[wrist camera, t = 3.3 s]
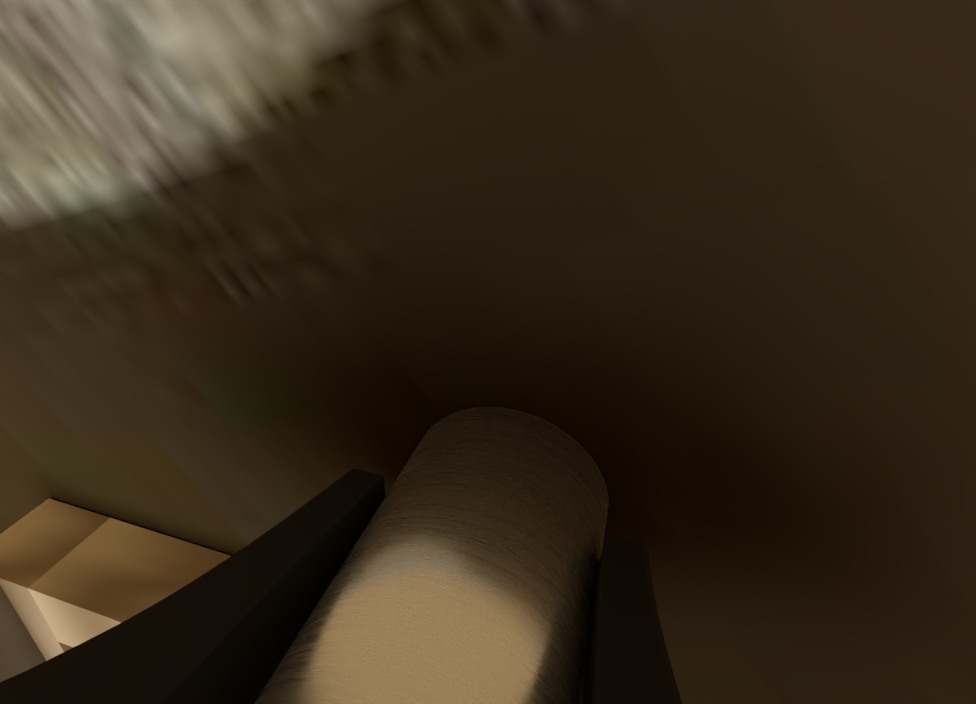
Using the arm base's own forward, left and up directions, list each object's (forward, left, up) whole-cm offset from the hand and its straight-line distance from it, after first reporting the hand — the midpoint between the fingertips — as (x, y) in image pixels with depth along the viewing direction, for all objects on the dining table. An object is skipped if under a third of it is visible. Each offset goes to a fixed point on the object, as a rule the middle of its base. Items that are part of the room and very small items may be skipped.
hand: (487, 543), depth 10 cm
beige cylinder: (0, 0, -1) cm, 1 cm away
